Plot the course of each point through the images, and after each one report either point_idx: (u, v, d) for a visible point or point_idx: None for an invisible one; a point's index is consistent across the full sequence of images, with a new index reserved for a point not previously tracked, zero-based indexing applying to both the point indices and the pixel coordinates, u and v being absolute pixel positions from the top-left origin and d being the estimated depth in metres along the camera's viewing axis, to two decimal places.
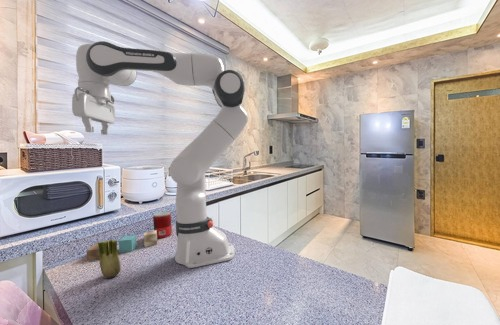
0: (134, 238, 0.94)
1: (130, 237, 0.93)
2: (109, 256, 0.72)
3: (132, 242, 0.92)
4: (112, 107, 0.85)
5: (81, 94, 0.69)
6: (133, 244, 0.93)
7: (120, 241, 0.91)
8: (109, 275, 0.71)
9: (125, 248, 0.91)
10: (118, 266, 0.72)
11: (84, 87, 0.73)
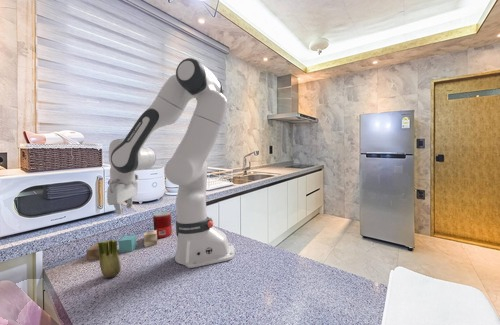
0: (134, 238, 0.94)
1: (130, 237, 0.93)
2: (109, 256, 0.72)
3: (132, 242, 0.92)
4: (135, 182, 1.00)
5: (114, 187, 0.83)
6: (133, 244, 0.93)
7: (120, 241, 0.91)
8: (109, 275, 0.71)
9: (125, 248, 0.91)
10: (118, 266, 0.72)
11: (115, 176, 0.88)
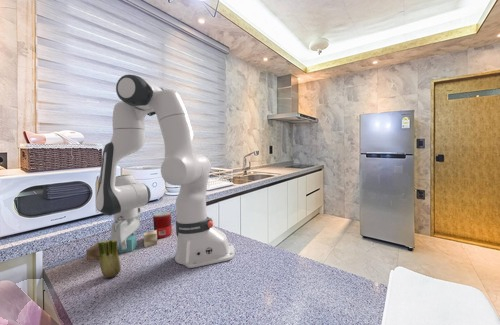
0: (134, 238, 0.94)
1: (130, 237, 0.93)
2: (109, 256, 0.72)
3: (132, 242, 0.92)
4: (138, 215, 1.00)
5: (118, 226, 0.84)
6: (133, 244, 0.93)
7: None
8: (109, 275, 0.71)
9: None
10: (118, 266, 0.72)
11: (118, 213, 0.88)
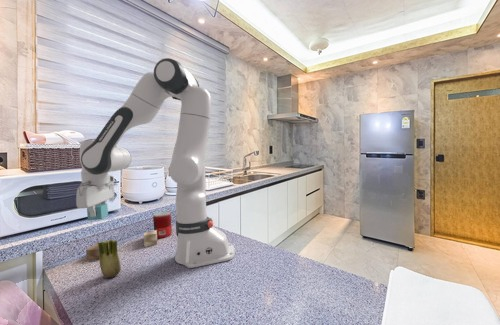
0: (105, 206, 0.89)
1: (100, 205, 0.89)
2: (109, 256, 0.72)
3: (101, 210, 0.87)
4: (111, 184, 0.96)
5: (84, 189, 0.79)
6: (103, 212, 0.88)
7: None
8: (109, 275, 0.71)
9: None
10: (118, 266, 0.72)
11: (86, 178, 0.83)
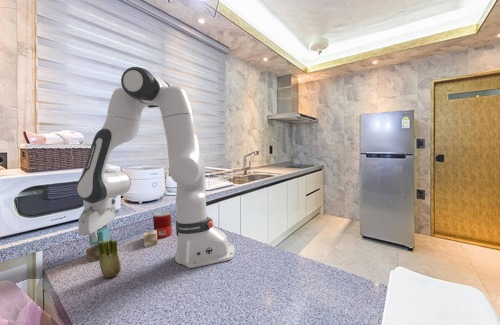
0: (106, 230, 0.90)
1: (102, 229, 0.89)
2: (109, 256, 0.72)
3: (103, 234, 0.87)
4: (113, 207, 0.96)
5: (86, 216, 0.80)
6: (105, 236, 0.88)
7: None
8: (109, 275, 0.71)
9: None
10: (118, 266, 0.72)
11: (88, 204, 0.84)
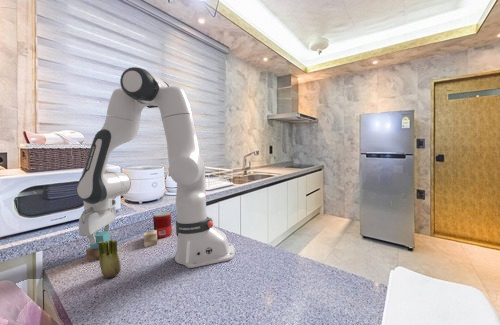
0: (107, 234, 0.90)
1: (102, 233, 0.89)
2: (109, 256, 0.72)
3: (104, 238, 0.87)
4: (113, 207, 0.96)
5: (86, 217, 0.80)
6: (105, 240, 0.88)
7: None
8: (109, 275, 0.71)
9: (96, 244, 0.87)
10: (118, 266, 0.72)
11: (89, 205, 0.84)
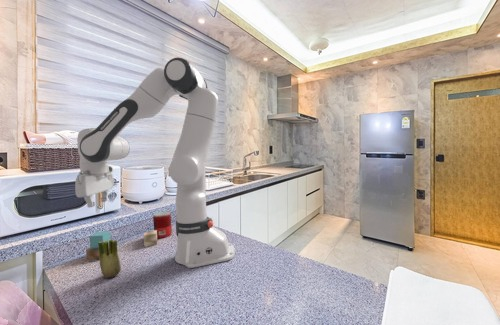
0: (107, 234, 0.90)
1: (103, 233, 0.89)
2: (109, 256, 0.72)
3: (103, 238, 0.87)
4: (110, 175, 0.95)
5: (83, 178, 0.79)
6: (105, 240, 0.88)
7: (91, 237, 0.86)
8: (109, 275, 0.71)
9: (96, 244, 0.87)
10: (118, 266, 0.72)
11: (85, 168, 0.83)
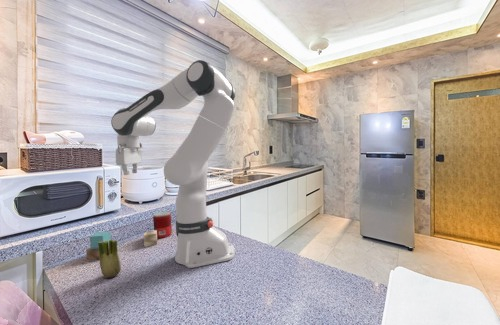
0: (107, 234, 0.89)
1: (103, 233, 0.89)
2: (109, 256, 0.72)
3: (103, 238, 0.87)
4: (140, 151, 1.10)
5: (122, 149, 0.93)
6: None
7: (91, 237, 0.86)
8: (109, 275, 0.71)
9: (96, 244, 0.86)
10: (118, 266, 0.72)
11: (122, 141, 0.98)
